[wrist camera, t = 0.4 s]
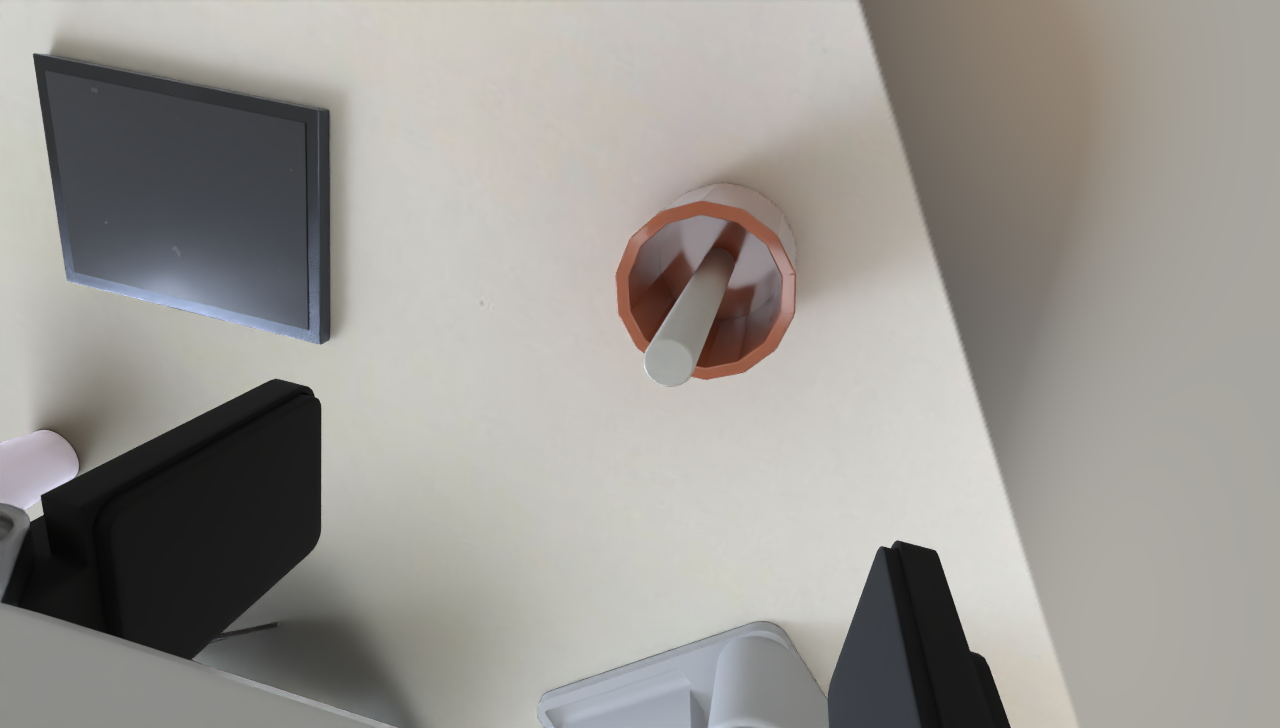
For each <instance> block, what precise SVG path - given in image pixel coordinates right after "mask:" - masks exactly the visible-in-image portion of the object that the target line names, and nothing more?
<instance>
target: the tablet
mask: <svg viewBox="0 0 1280 728" xmlns="http://www.w3.org/2000/svg"><path fill="white" fill-rule="evenodd" d="M33 58H34V64H35V71H36V78H37V84H38V91H39V98H40V104H41V111H42V118H43V124H44V131H45V138H46V144H47V151H48V158H49V164H50V171H51V178H52V184H53V191H54V198H55V204H56V211H57V218H58V224H59V231H60V238H61V244H62V251H63V258H64V264H65V271H66V277H67V281H69V282H73V283H77V284H81V285H85V286H89V287H93V288H97V289H101V290H105V291H109V292H113V293H117V294H121V295H125V296H129V297H133V298H137V299H141V300H145V301H149V302H153V303H157V304H161V305H165V306H169V307H173V308H177V309H181V310H185V311H189V312H193V313H197V314H201V315H205V316H209V317H213V318H217V319H221V320H225V321H229V322H233V323H237V324H241V325H245V326H249V327H253V328H257V329H261V330H264V331H268V332H272V333H276V334H280V335H284V336H288V337H292V338H296V339H300V340H304V341H308V342H312V343H316V344H323V343H325V342H327V341H329V111H328V110H324V109H319V108H314V107H309V106H304V105H299V104H294V103H289V102H284V101H279V100H274V99H269V98H264V97H259V96H254V95H249V94H244V93H239V92H234V91H229V90H224V89H219V88H214V87H209V86H204V85H199V84H194V83H189V82H184V81H179V80H174V79H169V78H164V77H159V76H154V75H149V74H144V73H139V72H134V71H129V70H124V69H119V68H114V67H109V66H104V65H99V64H94V63H89V62H84V61H79V60H74V59H69V58H63V57H58V56H53V55H48V54H36V53H34V54H33Z"/></svg>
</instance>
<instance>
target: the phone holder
mask: <svg viewBox="0 0 1280 728" xmlns="http://www.w3.org/2000/svg"><path fill="white" fill-rule="evenodd" d="M537 717H538V719H539V721H540V723H541V724H542V726H543V727H544V728H829V720H828V701H827V699H826V698H825V696H824V694H823V693H822V691H821V690H820V688H819V686H818V685H817V683H816V682H815V680H814V678H813V677H812V675H811V673H810V672H809V670H808V669H807V667H806V665H805V664H804V662H803V660H802V659H801V657H800V656H799V654H798V652H797V651H796V649H795V647H794V646H793V644H792V643H791V641H790V639H789V638H788V636H787V635H786V633H785V632H784V631H783V630H782V629H781V628H779V627H778V626H776V625H774V624H772V623H768V622H754V623H750V624H748V625H745V626H742V627H739V628H736V629H733V630H730V631H727V632H724V633H721V634H718V635H715V636H712V637H709V638H706V639H703V640H700V641H697V642H694V643H691V644H688V645H685V646H682V647H679V648H676V649H673V650H670V651H667V652H665V653H662V654H659V655H656V656H653V657H650V658H647V659H644V660H641V661H638V662H635V663H632V664H629V665H626V666H623V667H620V668H617V669H614V670H611V671H608V672H605V673H602V674H599V675H596V676H593V677H590V678H587V679H584V680H582V681H579V682H576V683H573V684H570V685H567V686H564V687H561V688H558V689H555V690H552V691H549V692H547V693H545V694H544V695H543V697H542V699H541V701H540V703H539V705H538V708H537Z"/></svg>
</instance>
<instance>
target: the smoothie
mask: <svg viewBox="0 0 1280 728" xmlns="http://www.w3.org/2000/svg"><path fill="white" fill-rule="evenodd" d="M78 470H79V462H78V458H77V455H76V453H75V451H74V449H73V448H72V446H71V445H70V444H69V443H68V442H67V441H66V440H65V439H64V438H63V437H62V436H60V435H59V434H57V433H55V432H53V431H49V430H39V431H36V432H33V433H29V434H26V435H23V436H19V437H16V438H13V439H9V440H6V441H3V442H0V503H5V504H11V505H13V506H16V507H18V508H21V509H23V510H24V511H25V510H26V509H28V508H29V507H31V506H32V505H34V504H35V503H37V502H38V501H40V500H41V495H42V494H44V493H46V492H48V491H50V490H52V489H54V488H56V487H58V486H60V485H62V484H64V483H66V482H68V481H70V480H71V479H73V478H74V477H75V476H76V475H77V473H78Z"/></svg>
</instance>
